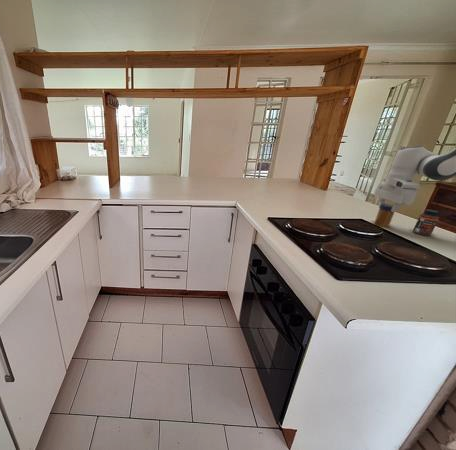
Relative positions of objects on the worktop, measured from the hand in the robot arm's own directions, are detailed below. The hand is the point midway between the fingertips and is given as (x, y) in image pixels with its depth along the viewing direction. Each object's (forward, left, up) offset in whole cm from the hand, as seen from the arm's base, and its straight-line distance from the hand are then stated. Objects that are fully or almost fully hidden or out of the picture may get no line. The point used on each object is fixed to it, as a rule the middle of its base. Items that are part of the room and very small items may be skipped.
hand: (387, 209), depth 117 cm
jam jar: (0, 0, -8) cm, 8 cm away
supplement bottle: (-10, +10, -9) cm, 17 cm away
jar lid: (0, 0, +2) cm, 2 cm away
